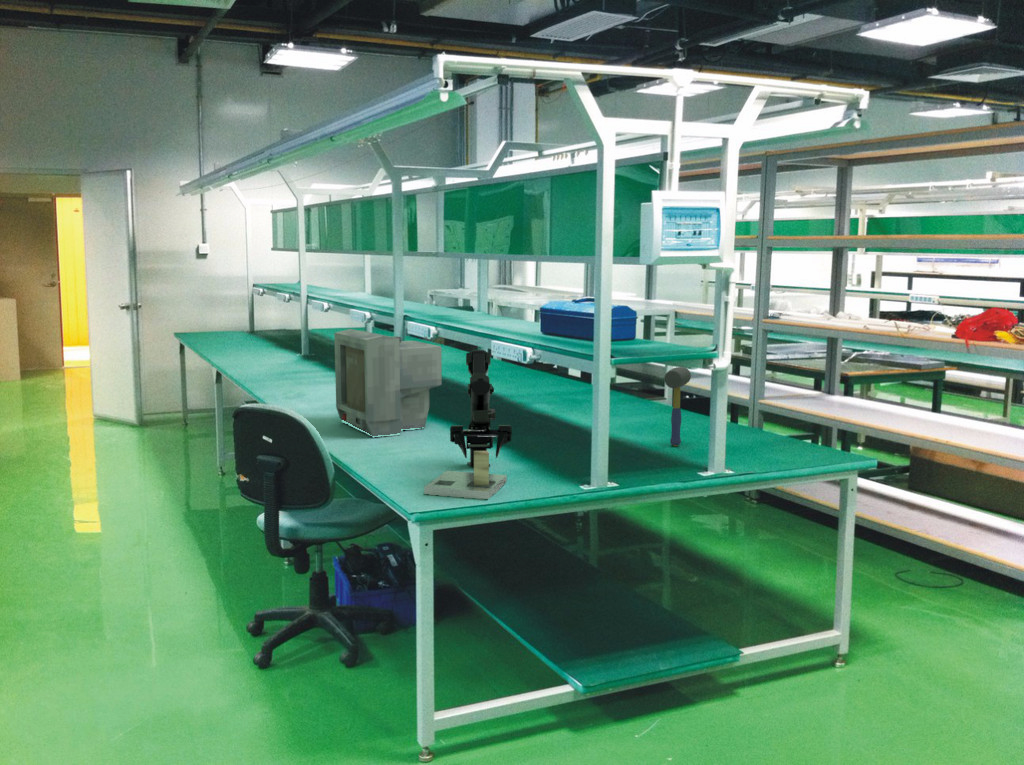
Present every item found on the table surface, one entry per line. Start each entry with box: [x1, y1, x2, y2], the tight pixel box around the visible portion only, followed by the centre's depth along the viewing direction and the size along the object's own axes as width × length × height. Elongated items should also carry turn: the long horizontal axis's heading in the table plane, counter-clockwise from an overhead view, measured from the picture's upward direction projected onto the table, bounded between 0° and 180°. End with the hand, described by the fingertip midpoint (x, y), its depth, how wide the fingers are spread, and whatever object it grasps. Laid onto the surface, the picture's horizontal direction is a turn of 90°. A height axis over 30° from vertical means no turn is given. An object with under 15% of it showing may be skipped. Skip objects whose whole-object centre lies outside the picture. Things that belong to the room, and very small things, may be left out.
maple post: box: [473, 450, 490, 485], centre depth 261 cm, size 4×4×10 cm
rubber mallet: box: [663, 366, 692, 447], centre depth 326 cm, size 12×8×30 cm, turn 152°
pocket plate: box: [423, 470, 508, 500], centre depth 266 cm, size 20×20×3 cm
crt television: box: [333, 328, 443, 436], centre depth 359 cm, size 39×36×40 cm
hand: (481, 457), depth 260 cm, fingers open, 9 cm apart
